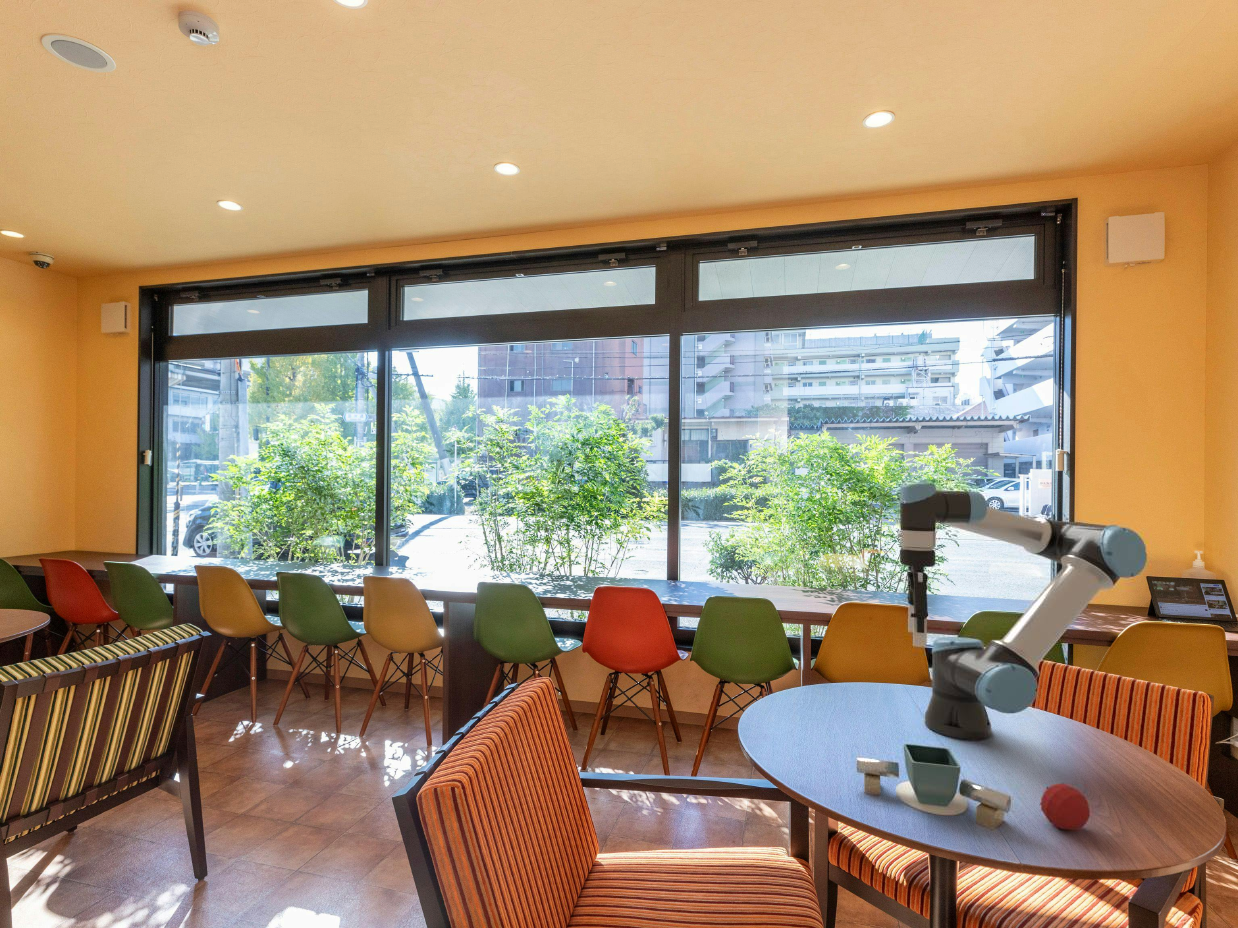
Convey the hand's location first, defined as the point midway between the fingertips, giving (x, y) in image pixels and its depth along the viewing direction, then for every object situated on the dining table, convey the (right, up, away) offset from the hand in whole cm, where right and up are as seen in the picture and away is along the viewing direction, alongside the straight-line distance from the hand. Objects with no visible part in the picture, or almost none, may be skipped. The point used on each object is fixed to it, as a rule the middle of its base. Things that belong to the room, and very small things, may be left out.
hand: (917, 639), depth 150 cm
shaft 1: (-16, -26, -17) cm, 35 cm away
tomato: (+13, -27, -30) cm, 43 cm away
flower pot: (-8, -26, -22) cm, 35 cm away
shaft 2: (0, -26, -28) cm, 39 cm away
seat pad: (-7, -26, -21) cm, 34 cm away
